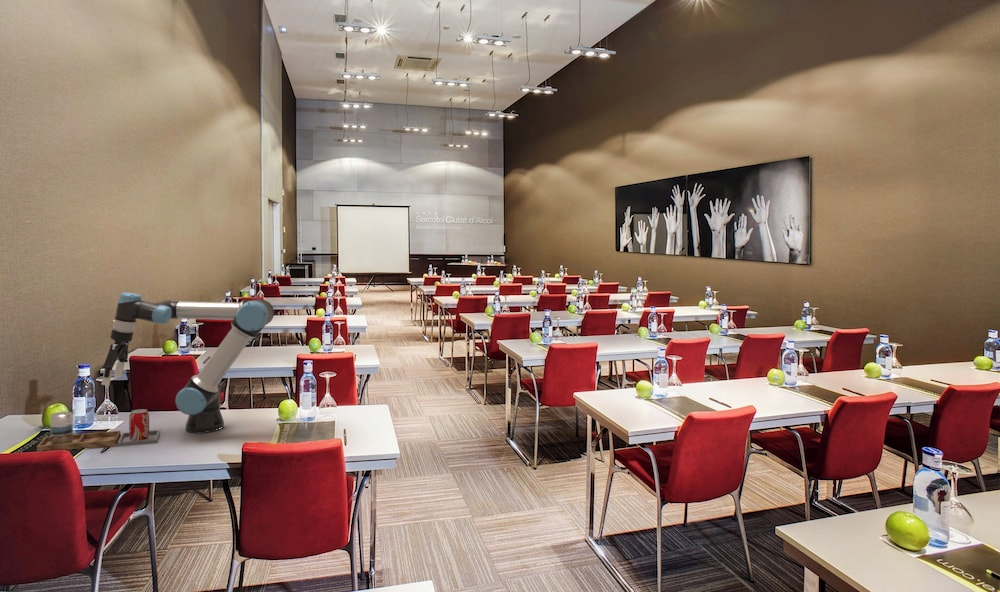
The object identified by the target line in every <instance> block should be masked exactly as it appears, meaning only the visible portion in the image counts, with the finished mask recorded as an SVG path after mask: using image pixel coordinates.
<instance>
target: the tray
mask: <svg viewBox="0 0 1000 592" xmlns="http://www.w3.org/2000/svg"><path fill="white" fill-rule="evenodd" d="M160 435H161V431H160V429H158V430H157V429H156V430H155V429H154V430H149V436H155V438H152V439H146V440H137V441H132V440H129V441H128V440H127V441H126V440H125V441H123V440H124V438H126V437H129V432H121V436H120V438H119V440H118V443H117V445H116V447H126V446H138V445H150V444H158V441H159V438H160ZM129 438H130V437H129Z"/></svg>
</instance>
